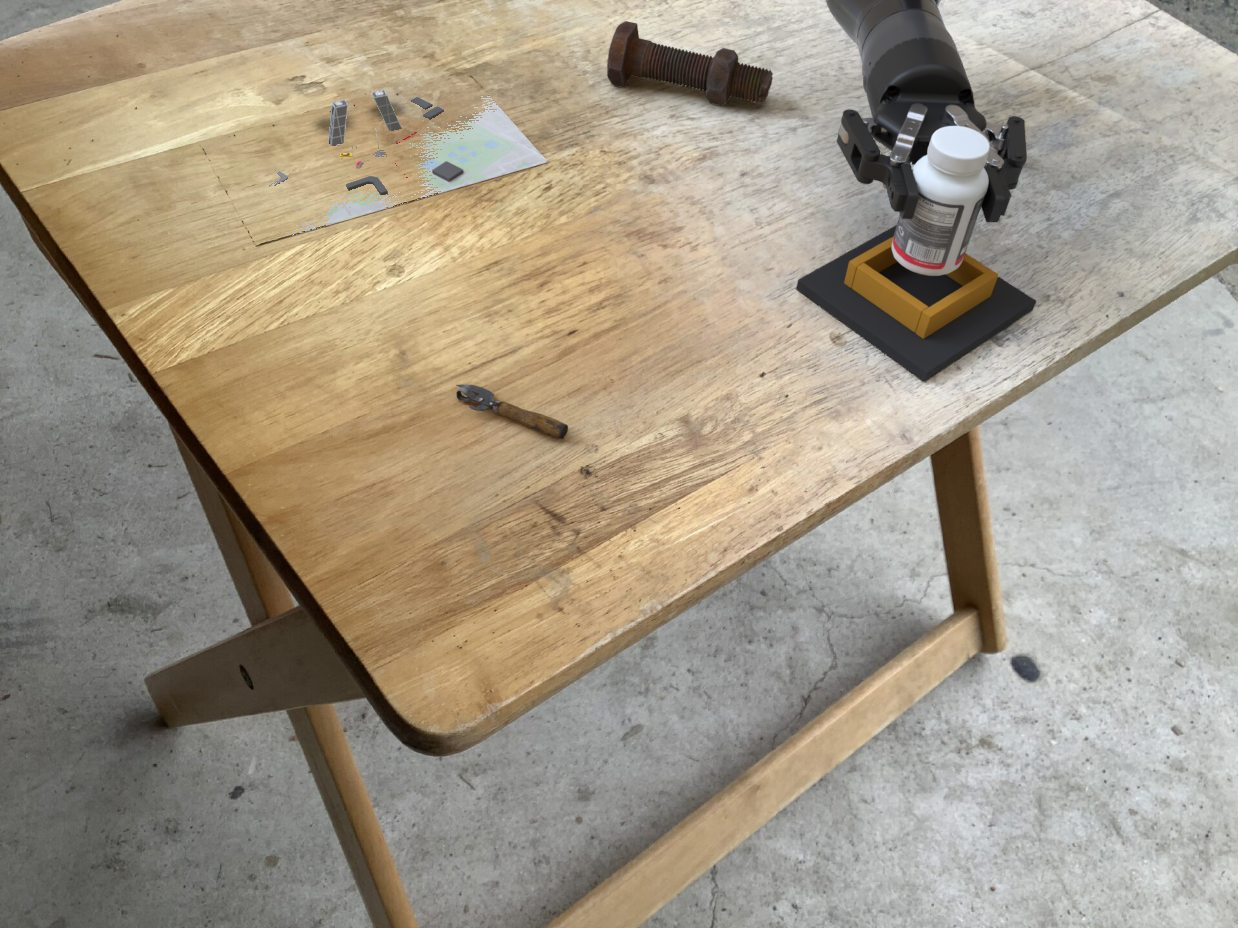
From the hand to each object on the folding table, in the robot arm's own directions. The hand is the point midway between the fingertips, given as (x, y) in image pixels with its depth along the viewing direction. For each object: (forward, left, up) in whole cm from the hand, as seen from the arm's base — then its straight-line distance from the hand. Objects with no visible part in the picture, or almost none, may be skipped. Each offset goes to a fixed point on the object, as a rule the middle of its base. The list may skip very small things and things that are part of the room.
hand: (953, 210), depth 76 cm
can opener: (+11, +30, -10) cm, 34 cm away
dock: (+2, -2, -10) cm, 10 cm away
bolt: (+35, -8, -10) cm, 37 cm away
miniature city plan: (+44, +21, -10) cm, 50 cm away
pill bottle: (+2, -2, -6) cm, 7 cm away
